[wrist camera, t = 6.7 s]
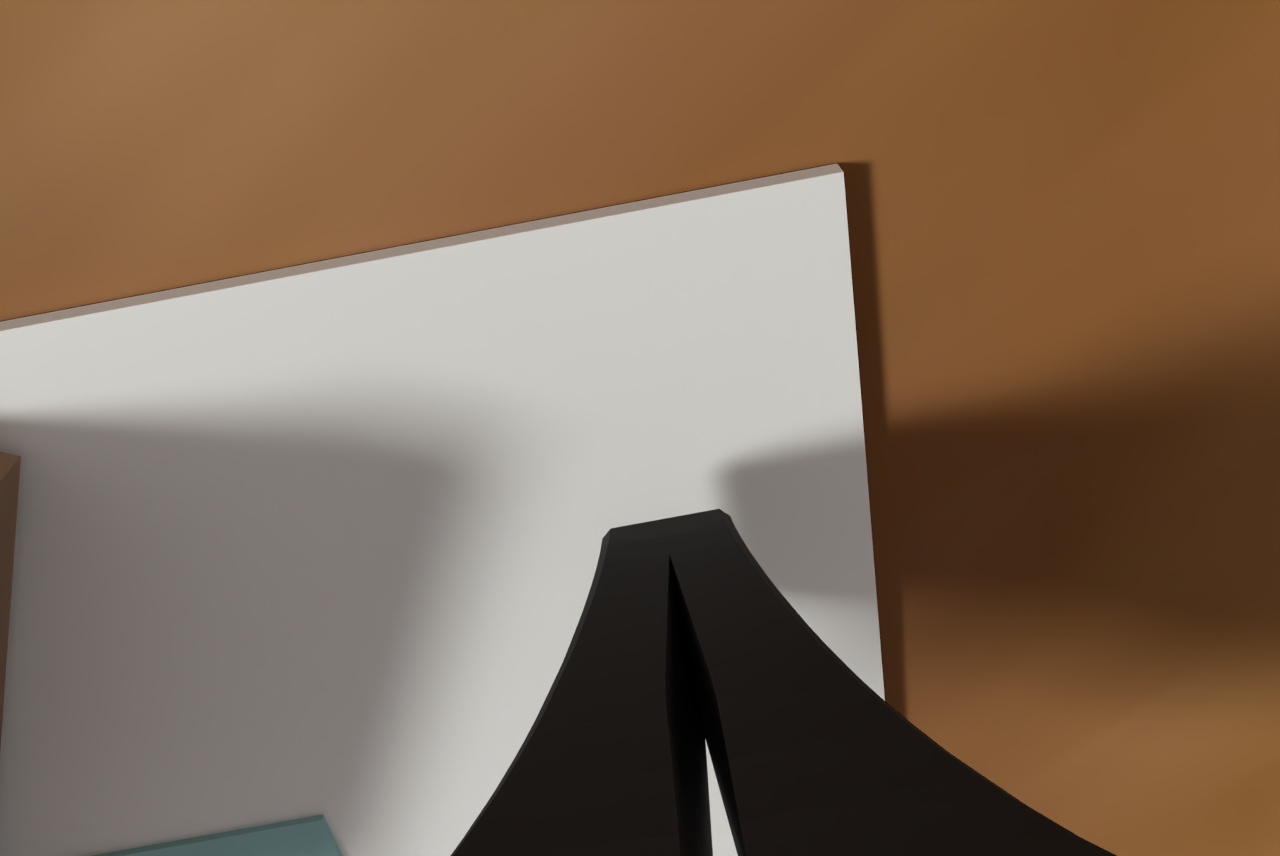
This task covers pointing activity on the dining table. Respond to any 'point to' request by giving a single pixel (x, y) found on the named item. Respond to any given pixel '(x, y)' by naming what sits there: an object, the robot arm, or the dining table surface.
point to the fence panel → (6, 554)
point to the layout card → (403, 511)
